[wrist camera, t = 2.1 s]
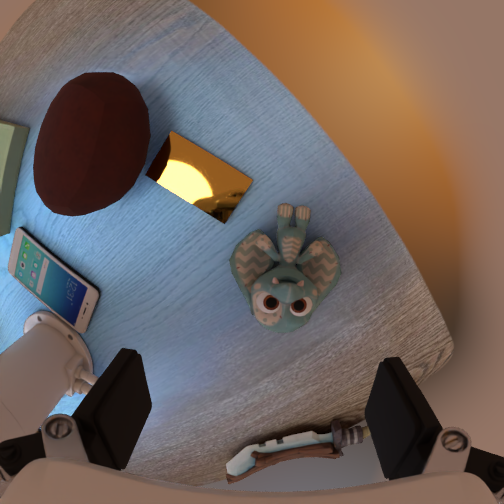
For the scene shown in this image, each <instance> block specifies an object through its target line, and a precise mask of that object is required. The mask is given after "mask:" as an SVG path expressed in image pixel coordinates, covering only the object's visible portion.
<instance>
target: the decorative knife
mask: <svg viewBox="0 0 504 504" xmlns="http://www.w3.org/2000/svg"><path fill="white" fill-rule="evenodd" d="M369 435H371V434H370V431H369V428H368V426H366V427H363V428H361V426H355V427H353V428H350V429H342V428H341V425H340V422H339V420H335V421H332V423H331V432H330V433H328V434H317V433H315V432H313V431H309V432H304V433H299V434H294V435H290V436H287V437H283V439H281V440H278V441H277V440H276V439H275V440H270V441H266V443H265V444H255V445H250V446H246V447H245V448H244V449H243V450H242V451H241V452H239V453H238V454H237V455H236V456H235V457H234V458H233V459H231V460H230V461H229V462H228V463H227V464H226V467H227V472H228V474H226V477H227V481H228V484H231V483H234V482H237V481H240V480H242V479H244V478H246V477H247V476H249V475H251V474H253V473H255V472H257V471H259V470H262V469H264V468H266V467H268V466H271V465H275V464H277V463H279V462H281V461H286V460H290V459H296V458H303V457H322V458H332V459H336V458H339V456H343V453H342V451H341V448H343V447H345V446H348V445H351V444H359V443H362V442H363V439H364V438H366V437H367V436H369Z"/></svg>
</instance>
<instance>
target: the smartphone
mask: <svg viewBox="0 0 504 504" xmlns="http://www.w3.org/2000/svg"><path fill="white" fill-rule="evenodd" d="M8 271H9V273H10V274H11V275H12V276H13V277H14V278H15V279H16V280H17V281H18V282H19V283H20V284H22V285H23V286H24V287H25V288H26V289H27V290H28V291H29V292H30V293H31V294H33V295H34V296H35V297H36V298H37V299H38V300H39V301H40V302H42V303H43V304H44V305H45V306H46V307H48V308H49V309H50V310H51V311H52V312H54V313H55V314H56V315H57V316H58V317H60V318H61V319H62V320H63V321H65V322H66V323H67V324H69V325H70V326H71V327H72V328H74V329H75V330H76V331H78V332H79V333H85V332H86V331H87V329H88V326H89V323H90V320H91V318H92V315H93V312H94V310H95V307H96V305H97V302H98V299H99V297H100V290H99V288H98V287H97V286H95V285H94V284H93V283H91V282H90V281H89V280H87V279H86V278H84V277H83V276H82V275H81V274H79V273H78V272H77V271H75V270H74V269H73V268H71V267H70V266H69V265H68V264H66V263H65V262H64V261H63V260H61V259H60V258H59V257H58V256H56V255H55V254H54V253H53V252H51V251H50V250H49V249H48V248H47V247H45V246H44V245H43V244H42V243H41V242H39V241H38V240H37V239H36V238H35V237H34V236H33V235H31V234H30V233H29V232H28V231H27V230H26V229H25V228H23V227H19V228H17V229H16V231H15V235H14V240H13V244H12V249H11V254H10V259H9V264H8Z"/></svg>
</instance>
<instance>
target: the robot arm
mask: <svg viewBox="0 0 504 504" xmlns="http://www.w3.org/2000/svg"><path fill="white" fill-rule="evenodd" d="M23 334H24V335H23V336H22V337H20V338H19V339H18V340H17V341H16V342H14V343H13V344H12V345H11V346H9V347H8V348H7V349H6V350H5V351H4V352H2V353H1V354H0V504H504V457H501V456H498V455H495V454H491V453H489V452H486V451H483V450H480V449H477V448H474V447H471V438H470V436H469V435H468V433H467V432H465V431H464V430H463V429H460V428H457V427H448V428H445V429H443V428H442V426H441V424H440V423H439V421H438V419H437V418H436V416H435V414H434V412H433V411H432V409H431V407H430V406H429V404H428V402H427V400H426V399H425V397H424V395H423V394H422V392H421V390H420V389H419V388H418V386H417V385H416V383H415V381H414V380H413V378H412V376H411V375H410V373H409V372H408V370H407V368H406V367H405V365H404V364H403V362H402V360H401V359H400V358H399V357H390V358H385V359H384V361H383V362H380V364H379V367H378V370H377V374H376V377H375V380H374V383H373V387H372V390H371V393H370V396H369V399H368V402H367V405H366V408H365V419H366V422H367V425H368V428H369V431H370V434H371V437H372V439H373V443H374V445H375V449H376V452H377V455H378V458H379V461H380V464H381V468H382V471H383V474H384V477H385V478H386V479H387V478H389V481H385V482H379V483H373V484H367V485H360V486H353V487H346V488H337V489H327V490H315V491H293V492H257V491H236V490H224V489H213V488H205V487H197V486H190V485H183V484H177V483H172V482H166V481H161V480H156V479H152V478H147V477H143V476H138V475H134V474H130V473H126V472H122V471H121V469H125V468H126V466H127V464H128V461H129V459H130V457H131V454H132V452H133V450H134V447H135V445H136V443H137V441H138V438H139V436H140V434H141V431H142V429H143V427H144V425H145V422H146V420H147V418H148V416H149V413H150V411H151V408H152V402H151V398H150V393H149V389H148V385H147V381H146V376H145V371H144V367H143V362H142V357H141V355H140V354H138V353H137V351H136V350H133V349H127V348H122V349H121V350H120V351H119V352H118V354H117V355H116V356H115V358H114V359H113V360H112V362H111V363H110V364H109V366H108V367H107V368H106V370H105V371H104V373H103V374H102V375H101V376H100V377H97V376H95V375H93V363H92V358H91V355H90V353H89V350H88V348H87V346H86V344H85V343H84V341H83V340H82V338H81V337H80V335H79V334H78V333H77V332H76V330H75V329H74V328H72V327H71V326H70V325H69V324H67V323H66V322H65V321H63V320H62V319H61V318H60V317H58V316H57V315H56V314H53V313H51V312H47V311H37V312H35V313H33V314H32V315H30V316H29V317H28V318H27V320H26V321H25V324H24V329H23ZM89 383H90V384H89ZM91 384H92V385H91ZM75 392H77V393H78V394H82V393H83V394H85V395H86V396H85V398H84V399H83V400H82V402H81V403H80V405H79V406H78V407H77V409H76V410H75V412H74V413H73V415H72V416H69V415H67V414H55V415H52V416H50V417H48V416H49V414H50V413H51V412H52V410H53V409H54V408H55V406H56V405H57V404H58V402H59V401H60V400H61V398H62V397H63V396H64V395H65V394H66V395H68V396H70V397H72V396H73V394H74V393H75ZM47 417H48V418H47ZM46 418H47V419H46ZM41 425H42V426H41ZM40 426H41V432H38V433H36V432H37V430H38V429H39V428H40Z"/></svg>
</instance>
